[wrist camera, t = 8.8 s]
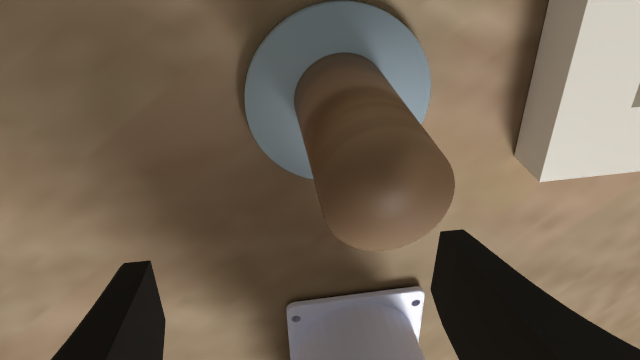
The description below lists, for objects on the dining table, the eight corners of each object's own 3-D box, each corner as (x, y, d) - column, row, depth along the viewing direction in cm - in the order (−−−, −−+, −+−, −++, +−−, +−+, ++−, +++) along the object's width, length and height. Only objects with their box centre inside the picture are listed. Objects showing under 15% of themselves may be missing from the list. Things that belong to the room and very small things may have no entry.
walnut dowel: (383, 137, 22) (444, 244, 16) (295, 144, 21) (321, 257, 15) (390, 49, 20) (464, 132, 13) (292, 55, 19) (321, 143, 13)
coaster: (417, 166, 24) (421, 172, 23) (253, 182, 23) (254, 189, 22) (435, -6, 19) (440, -3, 19) (233, 5, 18) (233, 9, 18)
